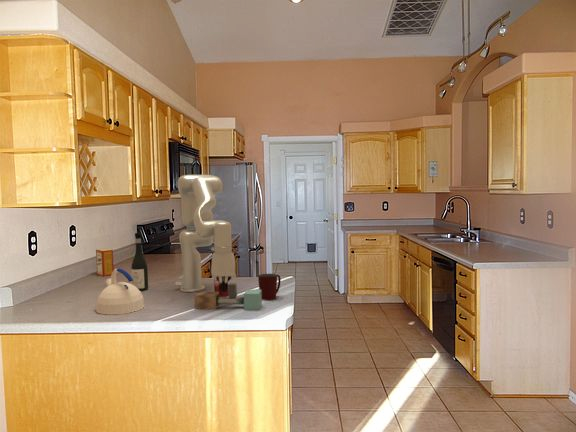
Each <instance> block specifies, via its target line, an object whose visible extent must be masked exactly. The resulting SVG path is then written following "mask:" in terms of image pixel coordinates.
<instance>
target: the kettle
mask: <svg viewBox="0 0 576 432" xmlns="http://www.w3.org/2000/svg"><path fill="white" fill-rule="evenodd" d="M118 273H120V274H122V275H123V276H124V277H125V278H126V279H127V281H128V282H129V283H128V282H125V281H120V282H119V281H118V282H117V274H118ZM132 281H134V280H133V279H132V275H131V274H129V272H128V271H126V270H124V269H122V268H115V269H114V271H113V272H112V274H111V276H110V278H107V279H106V280H105V281H104V282H105V284H106V287H104V289H103V290H102V292H101V293H100V294H99V295H98V298H97V300H96V309H95V310H96V313H97V314H99V313H100V314H99V315H105V314H106V316H107V315H109V316H113V315H114V316H115V315H116V314H117V315H124V314H125V313H126V314H130V312H131V313H135V312H138V311H140V309H141V310H142V309H144V308H145V300H144V296H143V293H142V291H139V289H138V288H137V287H135V286H134V285H132ZM130 282H131V283H130ZM143 307H144V308H143ZM134 311H135V312H134ZM126 314H125V315H126ZM117 315H116V316H117Z"/></svg>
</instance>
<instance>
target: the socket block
mask: <svg viewBox="0 0 576 432" xmlns="http://www.w3.org/2000/svg"><path fill="white" fill-rule="evenodd" d="M243 297H244V305H243V309H244V311H260V309H261V307H262V305H263V304H262V301H263V300H262V295H261V290H259V289H246V290H245V291H244V292H243Z"/></svg>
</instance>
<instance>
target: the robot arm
mask: <svg viewBox="0 0 576 432" xmlns="http://www.w3.org/2000/svg"><path fill="white" fill-rule="evenodd" d="M177 190H178V193H179V196H180V201H181V203H180V204H181V221H182V225H183V226H185V227H194V228H187V229H183V230H182V231H181V232H180V233H179V244H180V248H181V249H180V250H181V266H182V268H181V269H182V280H181V281H175V283H174V284H175V286H176V287H180V288H179V291H180V292H184V293H195V292H196V293H198V292H202V291H203V290H205V289H206V288H205V285H202V284H203V283H202V259H201V258H202V257H201V253H200V252H199V251H198V250H197V248H199V247H200V248H201V247H209V246H212V244H213V243H214V245H213V247H211V248H210V250H211V251H212V252H213V253H212V256H211V268H210V269H211V270H210V272H211V278H212V279H213V280H214V279H217V280H218V281H219V282H220V286H221V290H222V292H226V291H227V290H228V281H229V282H230V280H233V279H236V278H237V274H236V272H237V271H236V259H235V255H234V252H233V250H232V249H233V246H232V224H231V222H229V221H225V220H224V219H223V220H222V219H220V220H219V219H218V220H214V214H213V212H212V210H213V208H215V207H216V205H217V199H216V196H215V194H216V195H217V194H218V195H219V194H220V193H222V191H223V181H222V180H221V178H220V177H219V176H217V175H212V174H183V175H181V176H180V177H178V180H177ZM223 277H225V281H224V280H223Z"/></svg>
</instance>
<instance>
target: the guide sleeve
mask: <svg viewBox="0 0 576 432" xmlns="http://www.w3.org/2000/svg"><path fill="white" fill-rule="evenodd" d="M216 297H219V292H214V291H197V292H196V293H195V294H194V310H217V309H218V308H219V306H220V305H217V304H216Z"/></svg>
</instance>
